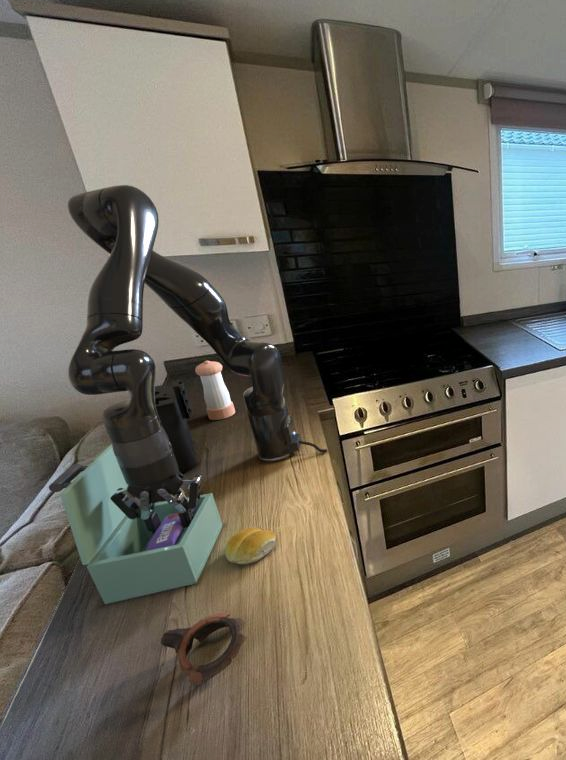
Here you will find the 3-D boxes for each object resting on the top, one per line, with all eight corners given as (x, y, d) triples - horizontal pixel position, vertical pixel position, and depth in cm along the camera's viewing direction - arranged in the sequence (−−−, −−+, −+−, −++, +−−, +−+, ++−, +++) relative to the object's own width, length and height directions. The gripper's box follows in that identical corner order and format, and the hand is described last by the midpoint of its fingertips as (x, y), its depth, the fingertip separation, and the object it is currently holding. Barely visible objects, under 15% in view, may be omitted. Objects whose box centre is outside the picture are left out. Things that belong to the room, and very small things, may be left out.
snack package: (171, 544, 80) (138, 552, 79) (175, 552, 81) (142, 561, 79) (193, 504, 90) (165, 511, 89) (197, 511, 91) (168, 518, 90)
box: (222, 525, 97) (212, 492, 94) (196, 583, 83) (183, 546, 80) (146, 541, 93) (132, 507, 90) (104, 604, 79) (86, 566, 76)
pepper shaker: (222, 421, 140) (206, 366, 133) (203, 419, 141) (186, 364, 134) (240, 410, 147) (226, 357, 140) (221, 408, 148) (206, 356, 141)
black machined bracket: (150, 485, 110) (121, 407, 102) (151, 449, 125) (125, 379, 117) (207, 467, 117) (184, 393, 109) (201, 435, 132) (180, 368, 124)
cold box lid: (118, 442, 85) (84, 444, 83) (66, 493, 71) (24, 497, 69) (133, 504, 90) (102, 508, 88) (88, 564, 76) (49, 569, 74)
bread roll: (251, 531, 96) (247, 517, 94) (284, 540, 93) (280, 526, 92) (215, 560, 88) (210, 544, 87) (249, 571, 86) (245, 555, 84)
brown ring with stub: (260, 620, 77) (253, 609, 71) (236, 688, 70) (226, 681, 64) (181, 617, 74) (167, 605, 68) (149, 687, 67) (130, 680, 61)
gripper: (83, 473, 74) (118, 550, 81) (183, 458, 79) (209, 532, 85) (107, 450, 81) (137, 522, 87) (198, 437, 85) (221, 507, 92)
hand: (172, 527), depth 86 cm, fingers closed on snack package, 4 cm apart
